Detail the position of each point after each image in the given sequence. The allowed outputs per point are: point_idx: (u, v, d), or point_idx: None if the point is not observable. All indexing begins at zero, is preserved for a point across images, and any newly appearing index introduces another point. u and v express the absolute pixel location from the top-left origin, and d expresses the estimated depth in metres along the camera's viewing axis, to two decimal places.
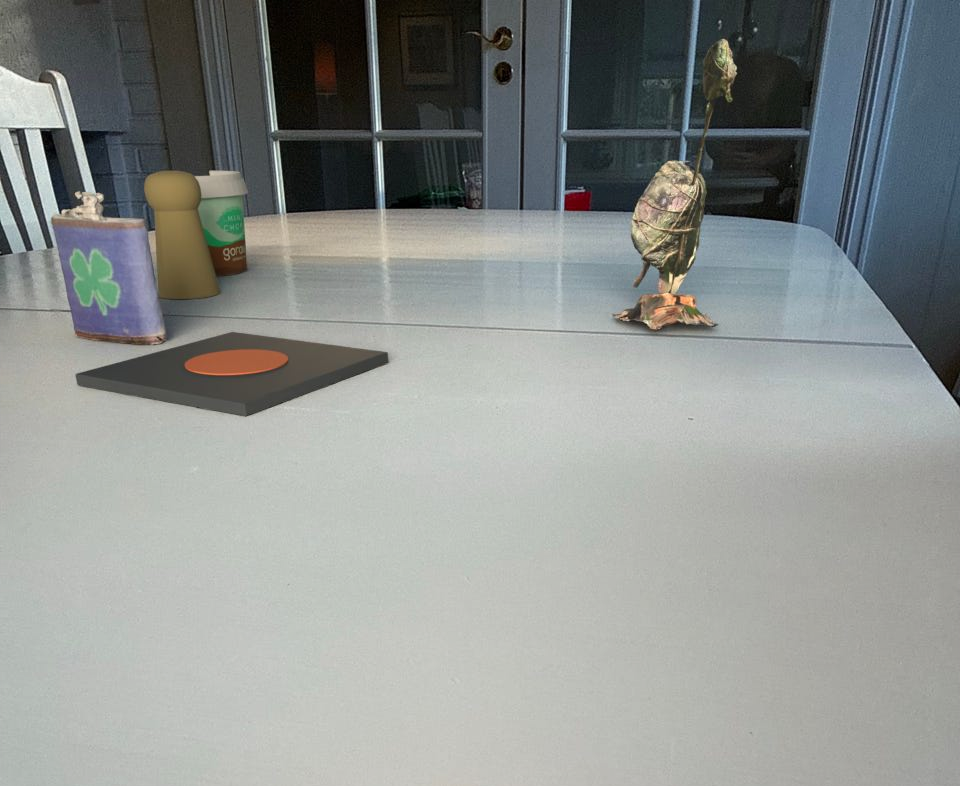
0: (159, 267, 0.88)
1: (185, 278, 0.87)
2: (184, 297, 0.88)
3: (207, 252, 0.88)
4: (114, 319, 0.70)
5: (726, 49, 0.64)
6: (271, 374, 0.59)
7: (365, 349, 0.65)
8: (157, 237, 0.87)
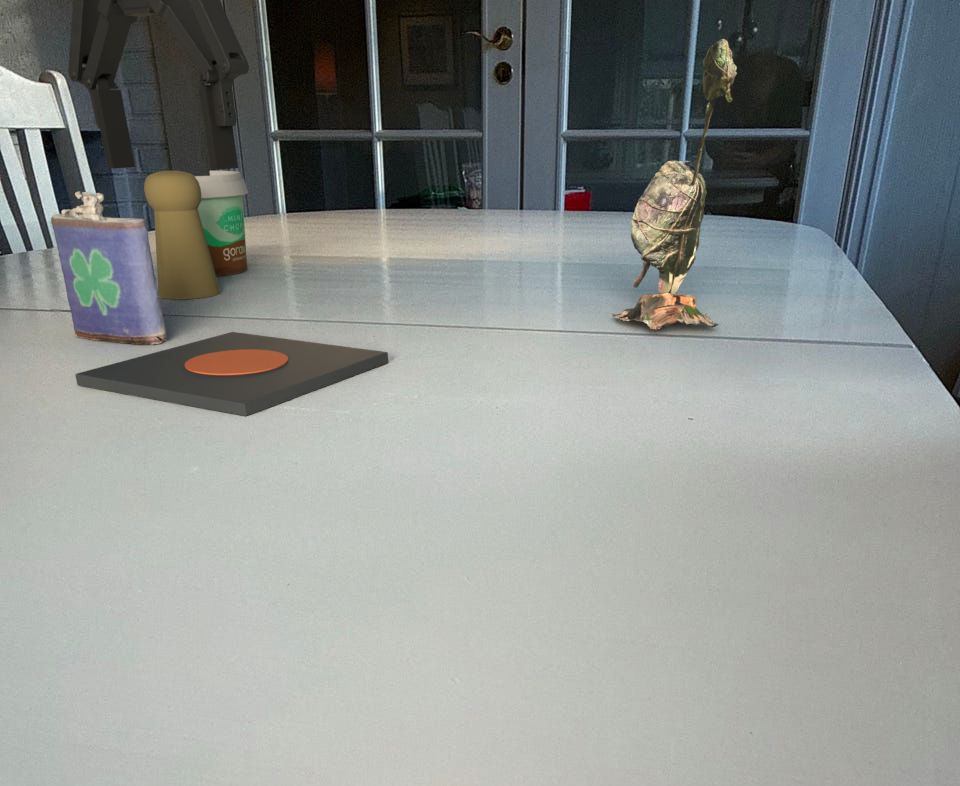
0: (159, 267, 0.88)
1: (185, 278, 0.87)
2: (184, 297, 0.88)
3: (207, 252, 0.88)
4: (114, 319, 0.70)
5: (726, 49, 0.64)
6: (271, 374, 0.59)
7: (365, 349, 0.65)
8: (157, 237, 0.87)
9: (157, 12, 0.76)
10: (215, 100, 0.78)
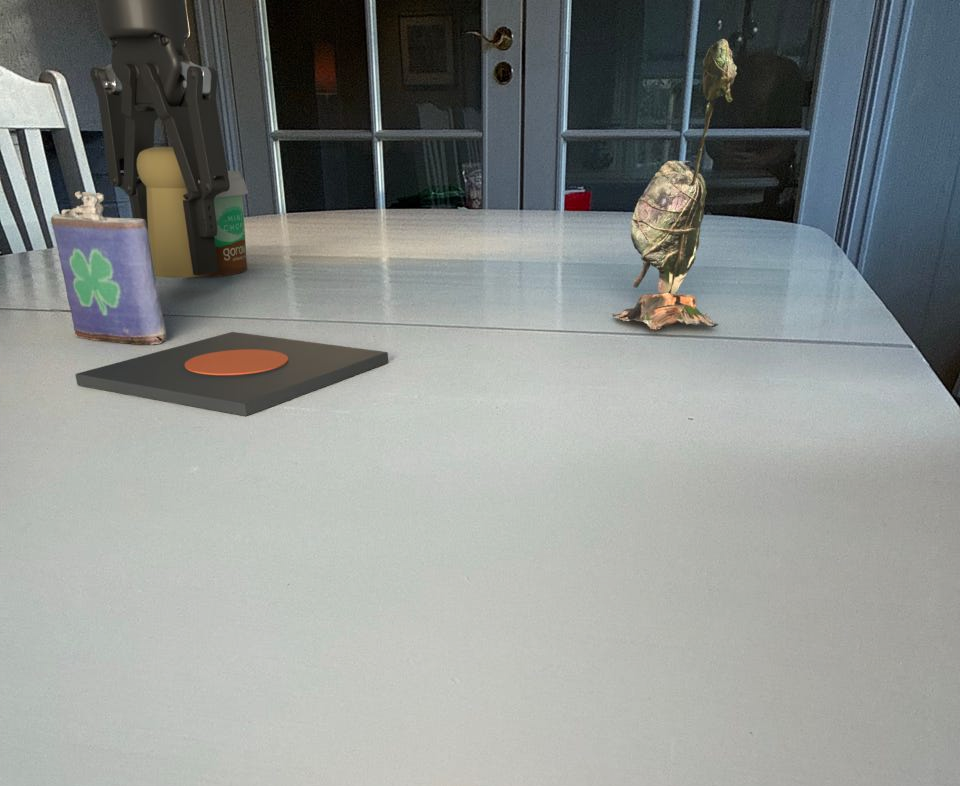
0: (150, 245, 0.87)
1: (176, 256, 0.86)
2: (175, 276, 0.87)
3: None
4: (114, 319, 0.70)
5: (726, 49, 0.64)
6: (271, 374, 0.59)
7: (365, 349, 0.65)
8: (149, 214, 0.86)
9: (160, 116, 0.81)
10: (197, 214, 0.85)
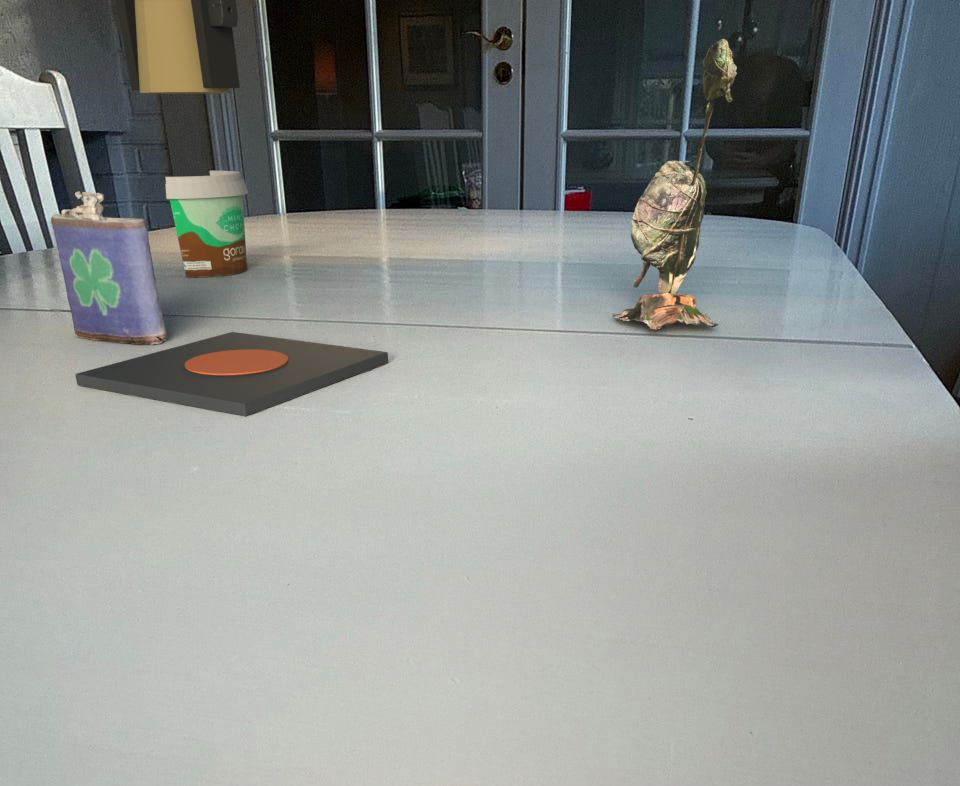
0: (140, 44, 0.59)
1: (179, 59, 0.59)
2: (178, 89, 0.59)
3: None
4: (114, 319, 0.70)
5: (726, 49, 0.64)
6: (271, 374, 0.59)
7: (365, 349, 0.65)
8: None
9: None
10: None
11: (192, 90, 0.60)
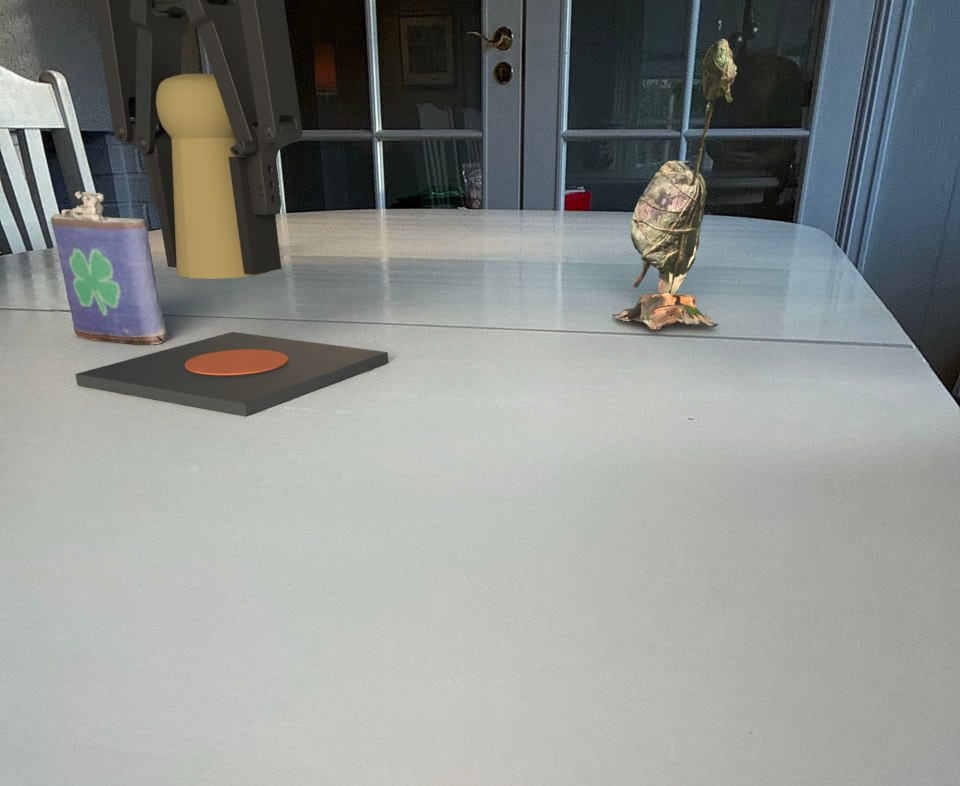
0: (179, 229, 0.56)
1: (219, 246, 0.56)
2: (217, 276, 0.56)
3: None
4: (114, 319, 0.70)
5: (726, 49, 0.64)
6: (271, 374, 0.59)
7: (365, 349, 0.65)
8: (176, 181, 0.55)
9: (192, 20, 0.50)
10: (251, 179, 0.54)
11: (232, 276, 0.57)
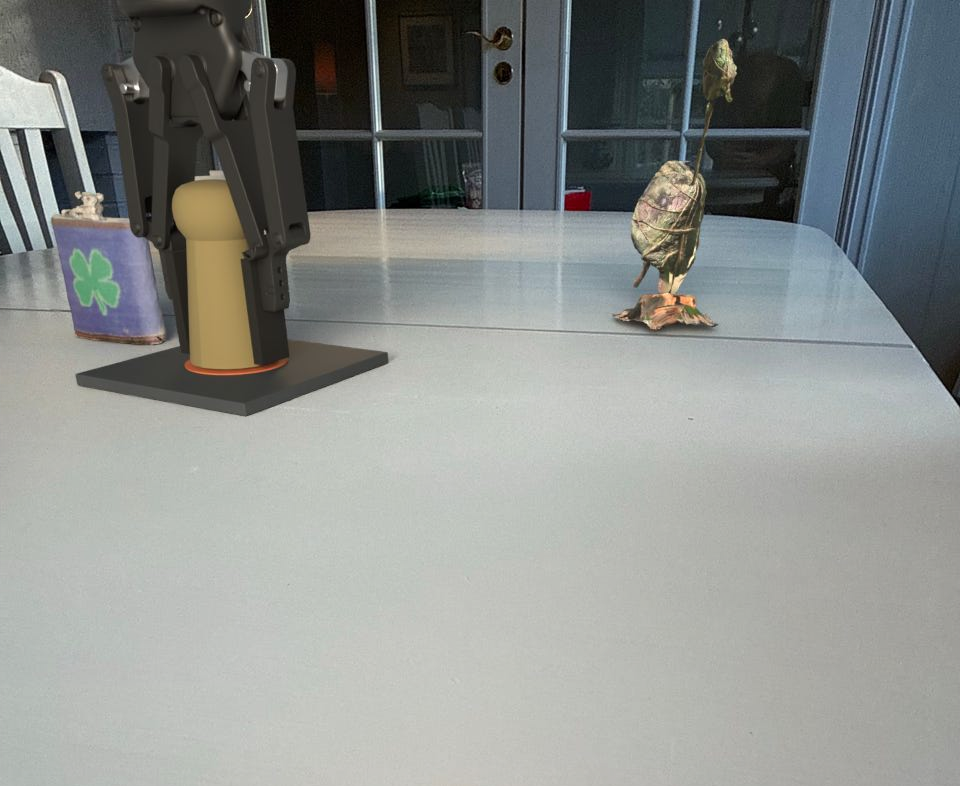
0: (192, 322, 0.59)
1: (231, 339, 0.59)
2: (229, 366, 0.59)
3: None
4: (114, 319, 0.70)
5: (726, 49, 0.64)
6: (271, 374, 0.59)
7: (365, 349, 0.65)
8: (190, 278, 0.58)
9: (208, 136, 0.53)
10: (262, 278, 0.57)
11: (243, 366, 0.60)
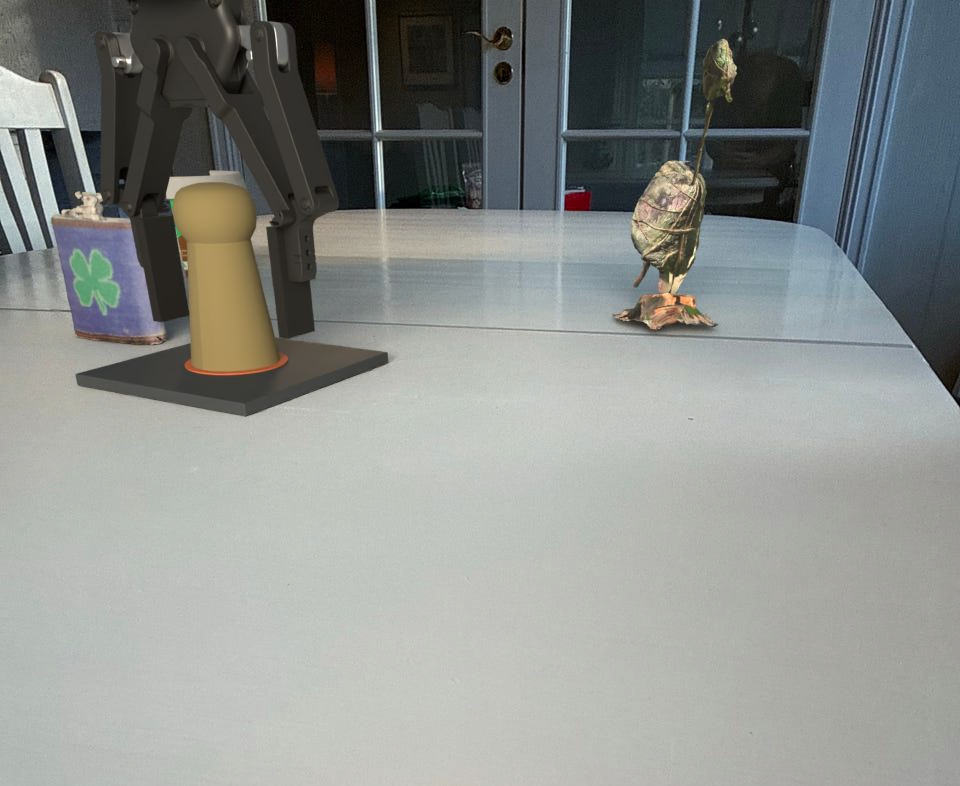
0: (193, 325, 0.59)
1: (232, 341, 0.59)
2: (230, 369, 0.59)
3: (264, 302, 0.60)
4: (114, 319, 0.70)
5: (726, 49, 0.64)
6: (271, 374, 0.59)
7: (365, 349, 0.65)
8: (191, 281, 0.58)
9: (216, 113, 0.52)
10: (288, 247, 0.55)
11: (244, 369, 0.60)
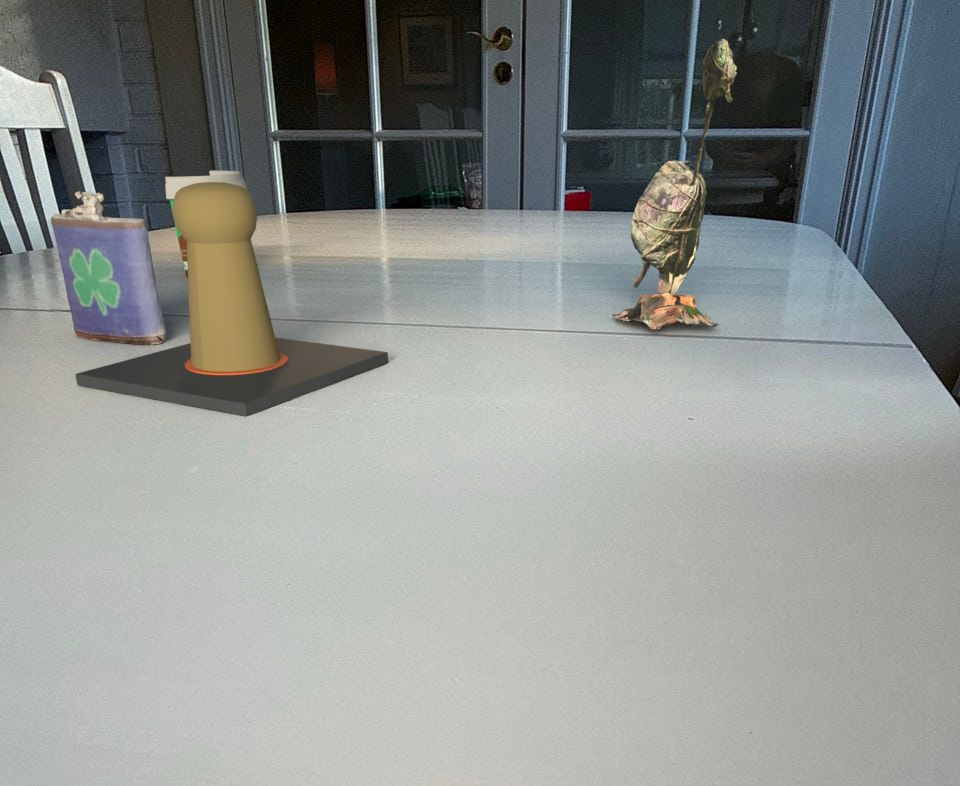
0: (193, 325, 0.59)
1: (232, 341, 0.59)
2: (230, 369, 0.59)
3: (264, 302, 0.60)
4: (114, 319, 0.70)
5: (726, 49, 0.64)
6: (271, 374, 0.59)
7: (365, 349, 0.65)
8: (191, 281, 0.58)
9: None
10: None
11: (244, 369, 0.60)
